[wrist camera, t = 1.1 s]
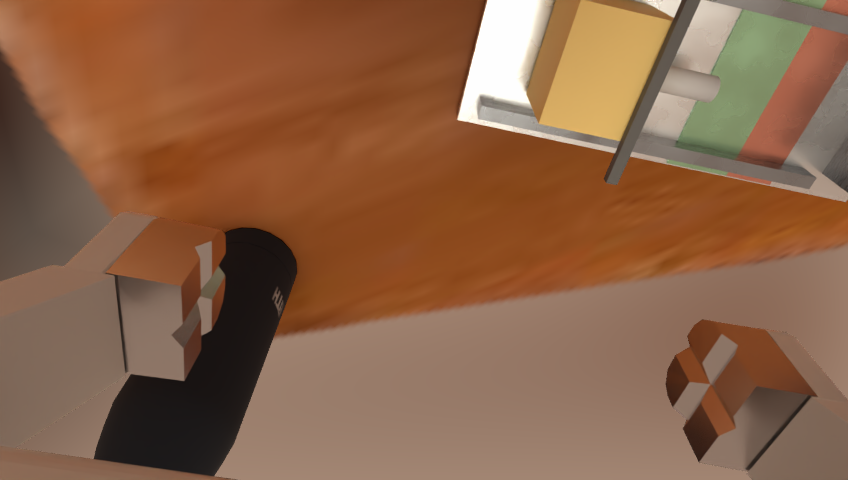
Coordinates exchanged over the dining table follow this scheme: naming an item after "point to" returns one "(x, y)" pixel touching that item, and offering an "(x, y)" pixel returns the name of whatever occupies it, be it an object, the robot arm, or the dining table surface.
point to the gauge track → (695, 120)
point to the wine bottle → (207, 370)
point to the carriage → (612, 70)
